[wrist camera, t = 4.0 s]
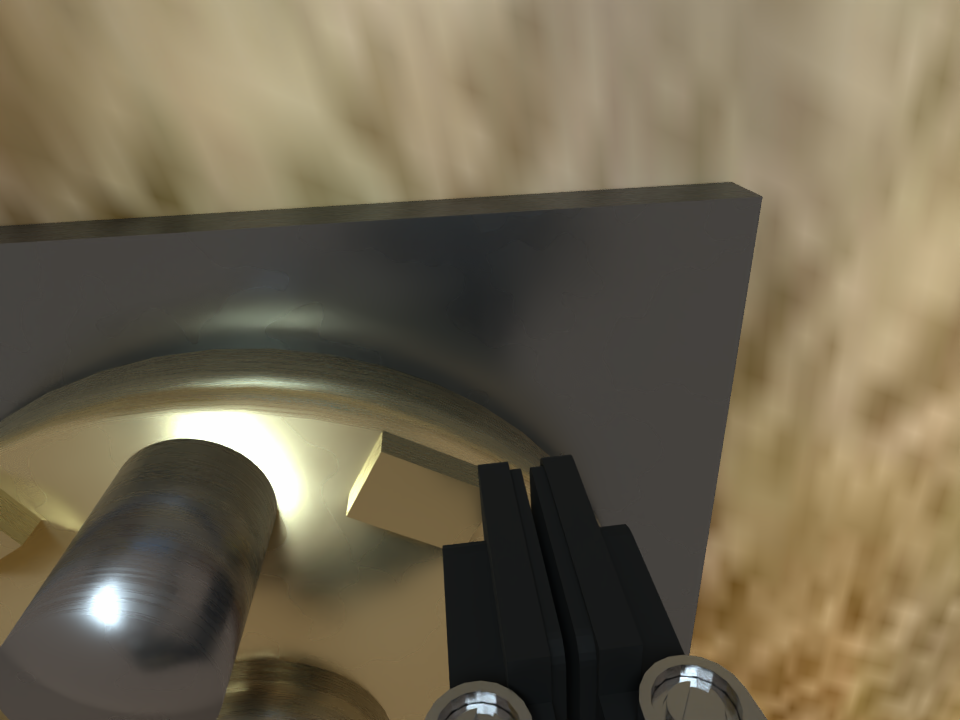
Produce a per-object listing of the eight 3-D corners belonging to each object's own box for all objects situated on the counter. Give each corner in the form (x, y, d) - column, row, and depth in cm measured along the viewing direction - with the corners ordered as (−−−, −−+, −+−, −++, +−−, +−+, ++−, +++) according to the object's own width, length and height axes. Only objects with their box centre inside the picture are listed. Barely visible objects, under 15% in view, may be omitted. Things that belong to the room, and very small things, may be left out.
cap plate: (731, 181, 15) (767, 198, 14) (649, 784, 26) (663, 830, 25) (-390, 249, 14) (-490, 276, 12) (22, 858, 25) (-3, 913, 23)
